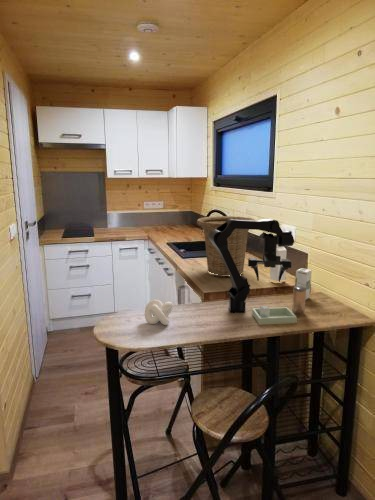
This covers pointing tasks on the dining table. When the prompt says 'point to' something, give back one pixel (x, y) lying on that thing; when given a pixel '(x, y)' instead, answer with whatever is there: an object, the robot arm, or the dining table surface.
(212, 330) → the dining table surface
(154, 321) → the cream knot sculpture
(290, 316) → the tote
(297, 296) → the coffee tin
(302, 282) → the syrup box
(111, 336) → the dining table surface
